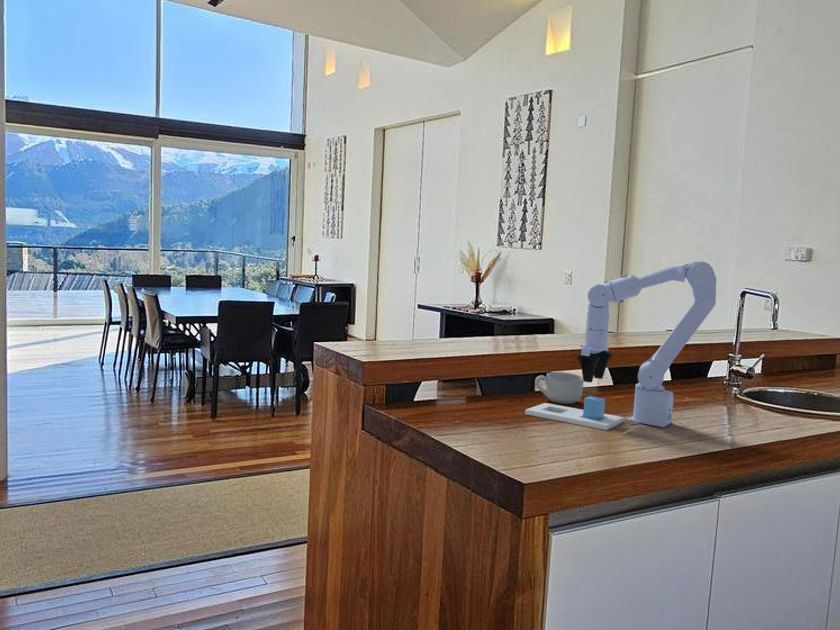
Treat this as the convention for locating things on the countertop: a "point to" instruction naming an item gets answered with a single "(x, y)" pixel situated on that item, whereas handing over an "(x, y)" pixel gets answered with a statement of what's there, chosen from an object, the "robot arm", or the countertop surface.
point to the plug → (594, 408)
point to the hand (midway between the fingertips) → (593, 380)
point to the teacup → (562, 387)
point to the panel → (572, 416)
